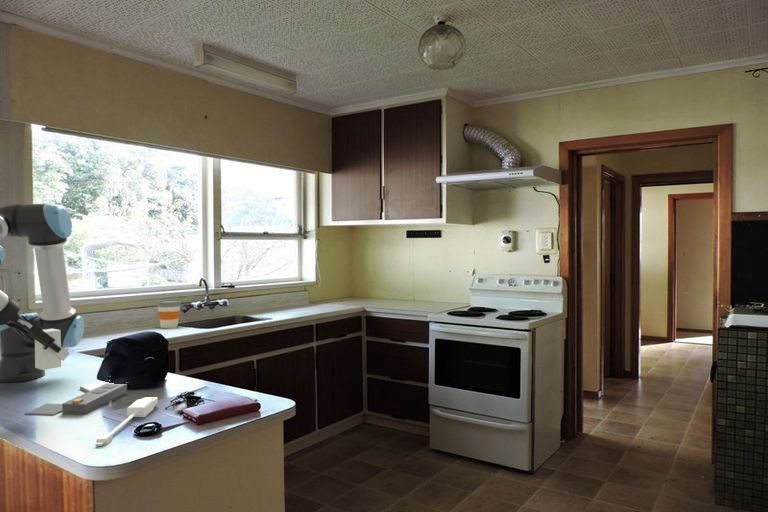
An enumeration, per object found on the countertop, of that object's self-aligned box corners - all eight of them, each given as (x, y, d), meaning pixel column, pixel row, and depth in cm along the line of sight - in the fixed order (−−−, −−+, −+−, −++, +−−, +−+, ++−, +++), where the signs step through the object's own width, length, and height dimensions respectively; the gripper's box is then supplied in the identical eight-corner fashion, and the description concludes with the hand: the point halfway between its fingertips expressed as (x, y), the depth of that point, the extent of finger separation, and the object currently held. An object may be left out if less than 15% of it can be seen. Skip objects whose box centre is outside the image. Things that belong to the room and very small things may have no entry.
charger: (35, 367, 160) (34, 330, 160) (53, 364, 164) (52, 328, 164) (42, 370, 157) (42, 332, 157) (61, 366, 161) (60, 330, 161)
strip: (120, 385, 188) (120, 375, 188) (139, 386, 188) (139, 375, 187) (62, 413, 158) (62, 401, 158) (85, 414, 158) (84, 402, 158)
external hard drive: (79, 390, 184) (117, 382, 193) (89, 395, 179) (127, 387, 188) (79, 385, 184) (117, 378, 193) (89, 390, 178) (127, 382, 188)
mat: (46, 404, 167) (46, 403, 167) (74, 405, 166) (74, 404, 166) (24, 414, 158) (24, 413, 158) (54, 415, 157) (54, 414, 157)
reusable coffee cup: (176, 324, 317) (176, 299, 316) (184, 327, 307) (183, 301, 307) (154, 326, 309) (153, 300, 308) (161, 329, 299) (161, 302, 299)
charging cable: (88, 451, 134) (88, 438, 134) (142, 405, 166) (142, 394, 166) (109, 451, 134) (108, 438, 134) (159, 405, 166) (158, 394, 166)
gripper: (-27, 315, 153) (38, 362, 167) (0, 320, 142) (66, 370, 156) (-5, 295, 157) (56, 342, 171) (22, 299, 147) (85, 349, 161)
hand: (61, 355), depth 164 cm, fingers closed on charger, 5 cm apart
